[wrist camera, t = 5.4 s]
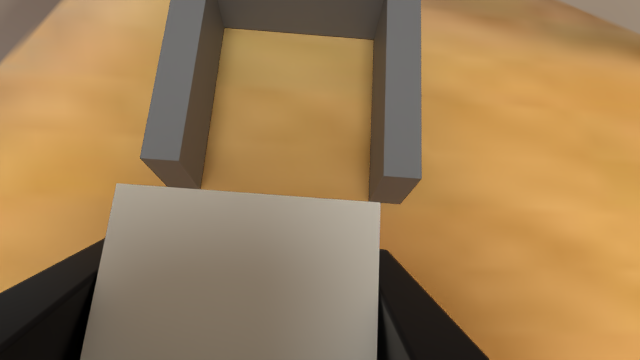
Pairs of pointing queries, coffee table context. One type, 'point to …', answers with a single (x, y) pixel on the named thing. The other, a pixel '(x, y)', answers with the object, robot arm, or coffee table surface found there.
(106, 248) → the white rectangular block
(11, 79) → the coffee table surface
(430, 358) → the robot arm
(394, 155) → the frame
